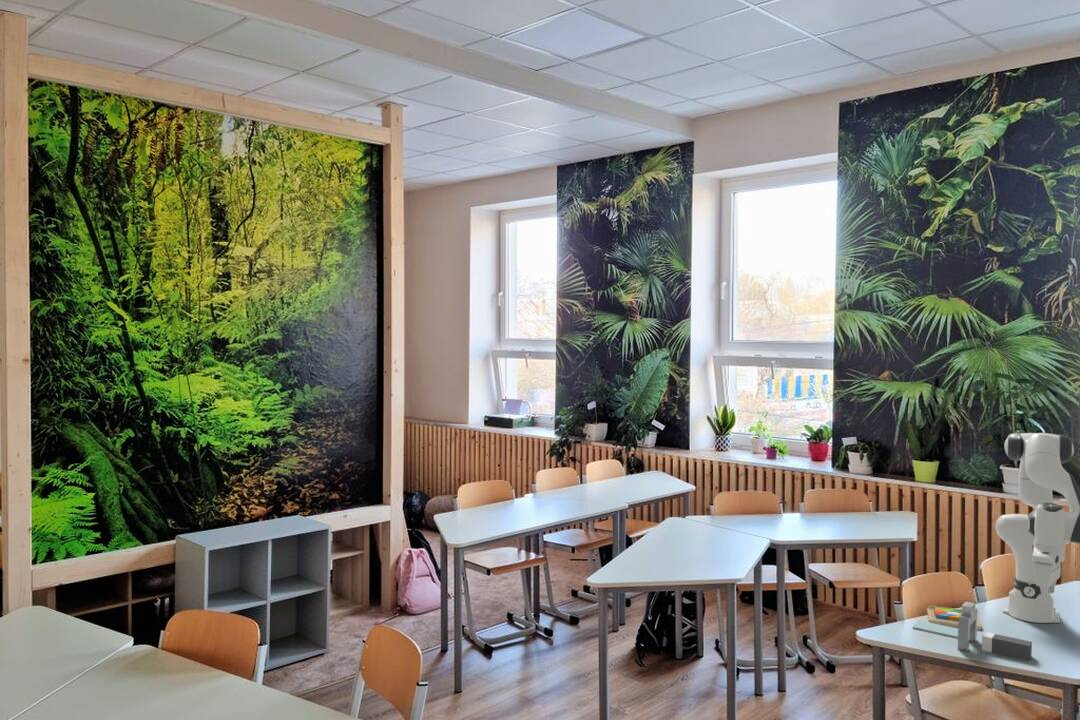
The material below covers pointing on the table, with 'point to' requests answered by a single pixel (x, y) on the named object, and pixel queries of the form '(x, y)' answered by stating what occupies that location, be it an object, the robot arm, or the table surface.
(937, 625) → the mat
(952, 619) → the wooden puzzle
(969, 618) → the housing
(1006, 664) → the table surface
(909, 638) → the table surface
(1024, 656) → the plug
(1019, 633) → the table surface
